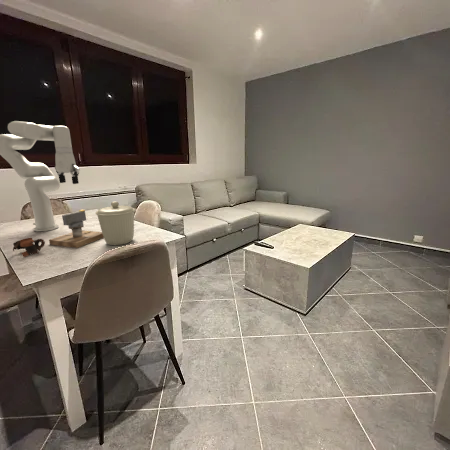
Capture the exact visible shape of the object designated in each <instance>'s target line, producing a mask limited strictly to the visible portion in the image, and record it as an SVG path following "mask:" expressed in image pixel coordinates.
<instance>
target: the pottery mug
mask: <svg viewBox="0 0 450 450" xmlns="http://www.w3.org/2000/svg"><path fill="white" fill-rule="evenodd" d="M39 243H40V245H39ZM45 244H46V241H44V239H43V238H38V239H33V238H32V237H27V238H25V237H24V238H22V239H20V240H17V241H15V242H14V243H13V244H12V245H13V247H12V248H13V249H12V251H15V250H24V251H23V252H21V256H22V257H23V258H26V257H28V256H32V255H37V254H39V252H40V251H41V249H42V248H43V247H44V246H45Z"/></svg>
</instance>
